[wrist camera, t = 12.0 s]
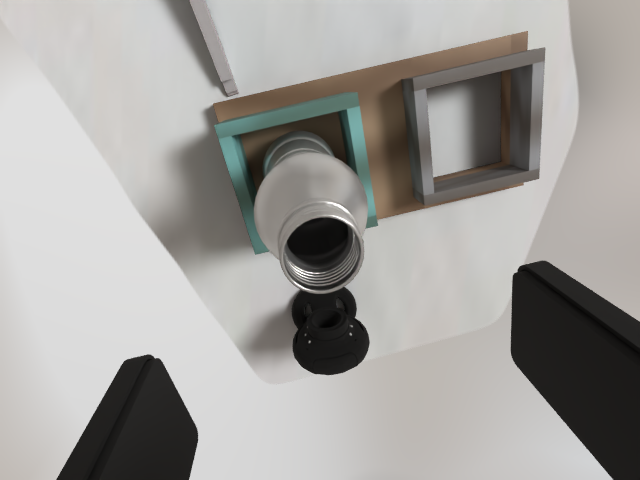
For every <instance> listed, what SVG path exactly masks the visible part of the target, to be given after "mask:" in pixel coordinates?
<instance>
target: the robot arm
mask: <svg viewBox="0 0 640 480" xmlns="http://www.w3.org/2000/svg"><path fill="white" fill-rule="evenodd" d="M511 325H512V326H511V355H512V358H513V361H514V362H515V364H516V365H517V367H518V368H519V369H520V370H521V371H522V373H523V374H524V375H525V376H526V377H527V378H528V380H529V381H530V382H531V383H532V384H533V385H534V387H535V388H536V389H537V390H538V391H539V392H540V394H541V395H542V396H543V397H544V398H545V399H546V401H547V402H548V403H549V404H550V406H551V407H552V408H553V409H554V410H555V411H556V412H557V414H558V415H559V416H560V417H561V419H562V420H563V421H564V422H565V423H566V424H567V426H568V427H569V428H570V429H571V430H572V431H573V433H574V434H575V435H576V436H577V437H578V439H579V440H580V441H581V442H582V443H583V444H584V445H585V447H586V448H587V449H588V450H589V451H590V453H591V454H592V455H593V456H594V457H595V459H596V460H597V461H598V462H599V463H600V464H601V466H602V467H603V468H604V469H605V470H606V471H607V473H608V474H609V475H610V476H611V477H612V478H613V480H640V322H639V321H638V320H636V319H635V318H633V317H631V316H630V315H628V314H627V313H625V312H624V311H622V310H621V309H619V308H618V307H616V306H615V305H613V304H611V303H610V302H608V301H607V300H605V299H604V298H602V297H601V296H599V295H598V294H596V293H595V292H593V291H592V290H590V289H589V288H587V287H586V286H584V285H582V284H581V283H579V282H578V281H576V280H575V279H573V278H572V277H570V276H569V275H567V274H566V273H564V272H563V271H561V270H559V269H558V268H556V267H555V266H553V265H552V264H550V263H549V262H547V261H539V262H534V263H530V264H526V265H522V266H520V267H519V269H518V272H517V273H514V275H513V282H512V324H511ZM197 443H198V431H197V428H196V426H195V423H194V422H193V420H192V418H191V416H190V414H189V412H188V410H187V408H186V406H185V405H184V403H183V401H182V399H181V397H180V395H179V393H178V391H177V389H176V388H175V385H174V384H173V382H172V380H171V378H170V376H169V374H168V372H167V370H166V368H165V366H164V364H163V362H162V361H161V360H160V359H159V358H156V359H155V358H154V357H153V356H152V355H144V356H140V357H135V358H131V359H127V360H126V361H124V362H123V364H122V365H121V367H120V369H119V371H118V372H117V374H116V376H115V378H114V380H113V381H112V383H111V385H110V386H109V388H108V390H107V392H106V393H105V395H104V397H103V399H102V401H101V403H100V404H99V406H98V407H97V409H96V411H95V413H94V414H93V416H92V418H91V420H90V422H89V423H88V425H87V427H86V429H85V430H84V432H83V434H82V436H81V437H80V439H79V441H78V443H77V444H76V446H75V448H74V450H73V452H72V453H71V455H70V457H69V458H68V460H67V462H66V464H65V465H64V467H63V469H62V471H61V472H60V474H59V476H58V478H57V480H189V477H190V473H191V468H192V464H193V460H194V456H195V452H196V447H197Z"/></svg>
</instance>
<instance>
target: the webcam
mask: <svg viewBox="0 0 640 480" xmlns="http://www.w3.org/2000/svg"><path fill="white" fill-rule="evenodd" d="M337 297H338V298H339V299H340V300H341V301H342V302H343V304H344V311H343V310H342V309H340V308H337V306H336V299H337ZM307 303H309V304H310V306H311V309H312V313H311V314H310V315H309V316H308V318H307V319H306V317H305V315H304V309H305V307H306V304H307ZM356 311H357V308H356V302H355V299H354V297H353V295H352V294H351V292H350V291H349V290H348V289H346V288H345V287H343V288H341V289H339V290H336V291H334V292H330V293H326V294H314V293H309V292H306V291H303V290H302V291H301V292H300V294H299V295H298V296H297V297H296V299H295V300H294V303H293V307H292V317H293V321H294V323H295V325H296V326H297V328H298V330H297V332H296V334H295V336H294V339H293V353H294V357H295V359H296V360H297V361H298V363H299V364H300V365H301V367H303V368H304V369H306V370H308V371H309V372H312V373H314V374H324V375H334V374H339V373H343V372H346V371H348V370H350V369H352V368H354V367H356V366H357V365H358V364H359V363H361V362H362V361H363V359H364V358H365V356H366V354H367V351H368V348H369V336H368V333H367V330H366V328H365V327H364V325H363V324H362V323H361V322H360V321H358V320H357V319H355V316H356Z"/></svg>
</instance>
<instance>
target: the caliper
mask: <svg viewBox="0 0 640 480" xmlns="http://www.w3.org/2000/svg"><path fill="white" fill-rule="evenodd" d="M189 1H190V3H191V6H192V9H193V11H194V14H195V16H196V19H197V21H198V24H199V26H200V29H201V31H202V34H203V37H204V39H205V42H206V44H207V47H208V49H209V52H210V54H211V57H212V60H213V62H214V65H215V67H216V70H217V72H218V75H219V77H220V80H221V82H222V83H223V85H224V88H225V91H226V93H227V95H228V96H231V95H234V94H238V90H237V87H236V84H235V82H234V79H233V75H232V72H231V70H230V67H229V64H228V61H227V58H226V55H225V53H224V50H223V47H222V45H221V42H220V39H219V37H218V34H217V31H216V28H215V26H214V23H213V20H212V18H211V15H210V12H209V10H208V7H207V4H206V1H205V0H189Z"/></svg>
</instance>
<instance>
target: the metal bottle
mask: <svg viewBox="0 0 640 480" xmlns="http://www.w3.org/2000/svg"><path fill="white" fill-rule="evenodd" d="M262 171H263V178H264V180H263V182H262V183H261V185H260V187H259V190H258V192H257V195H256V198H255V205H254V221H255V225H256V229H257V232H258V234H259V236H260V238H261V240H262V242H263V243H264V244H265V246H266V247H267V248H268V250H269V251H270V252H271V253H272V254H273V255H274V256H275V257H276V258H277V259H278V260H280V264H281V267H282V270H283V272H284V274H285V276H286V277H287V278H288V280H289V281H290V282H291V283H292V284H293V285H294V286H296V287H297V288H299V289H301V290H303V291H306V292H309V293H314V294H326V293H330V292H334V291H336V290H339V289H341V288H343V287H344V286H346V285H347V284H348V283H349V282H351V281H352V280H353V279H354V277H355V276H356V275H357V273H358V272H359V270H360V268H361V266H362V262H363V259H364V245H363V239H362V236H363V234H364V231H365V227H366V224H367V215H368V202H367V195H366V192H365V189H364V186H363V184H362V182H361V181H360V179H359V177H358V176H357V174H356V173H355V172H354V171H353V170H352V169H351V168H350V167H349V166H348V165H346V164H345V163H344V162H342V161H341V160H339V159H337V158H335V157H334V154H333V152H332V150H331V148H330V146H329V145H328V144H327V143H326V142H325V141H324V140H323V139H322V138H321V137H319V136H318V135H316V134H313V133H311V132H307V131H293V132H288V133H286V134H284V135H282V136H280V137H279V138H277V139H276V140H275V141H274V142H273V143H272V144H271V145H270V147H269V148H268V150H267V152H266V154H265V157H264V160H263V166H262Z"/></svg>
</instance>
